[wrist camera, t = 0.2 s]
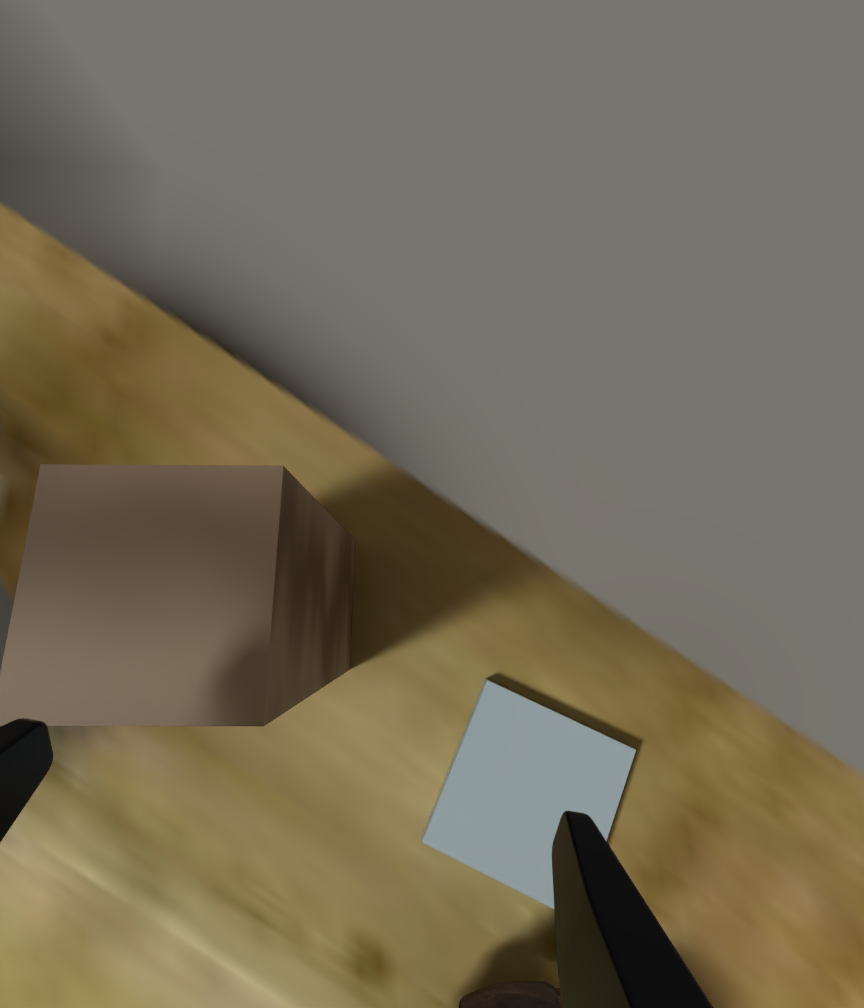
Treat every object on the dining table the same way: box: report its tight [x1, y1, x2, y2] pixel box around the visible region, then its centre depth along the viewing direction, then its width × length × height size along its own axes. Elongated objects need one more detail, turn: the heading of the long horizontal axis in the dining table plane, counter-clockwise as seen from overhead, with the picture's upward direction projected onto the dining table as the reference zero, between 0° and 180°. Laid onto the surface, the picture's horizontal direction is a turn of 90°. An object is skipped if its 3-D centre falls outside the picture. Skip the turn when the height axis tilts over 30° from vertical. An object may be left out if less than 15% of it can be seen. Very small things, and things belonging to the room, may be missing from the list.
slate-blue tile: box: [422, 679, 636, 909], centre depth 21 cm, size 7×7×1 cm
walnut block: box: [0, 465, 355, 726], centre depth 17 cm, size 6×6×12 cm
